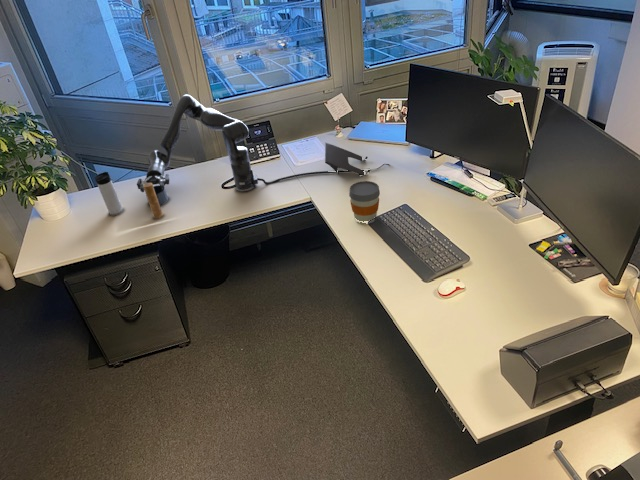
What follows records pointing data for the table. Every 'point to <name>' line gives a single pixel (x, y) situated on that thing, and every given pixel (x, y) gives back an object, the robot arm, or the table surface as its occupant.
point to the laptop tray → (341, 159)
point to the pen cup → (161, 195)
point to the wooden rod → (153, 200)
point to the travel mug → (109, 193)
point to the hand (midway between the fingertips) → (151, 189)
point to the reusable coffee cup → (364, 200)
